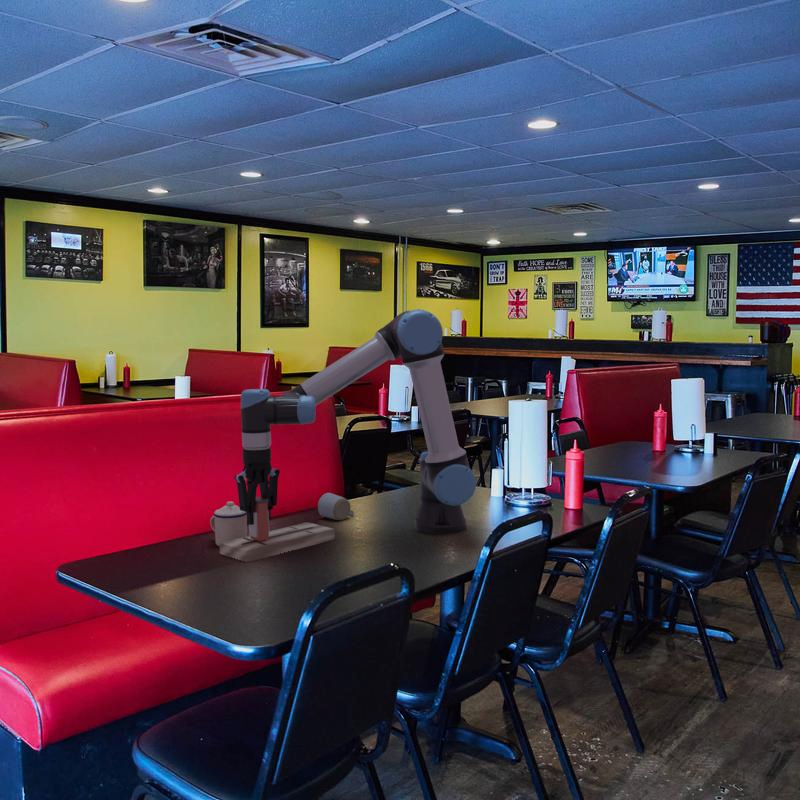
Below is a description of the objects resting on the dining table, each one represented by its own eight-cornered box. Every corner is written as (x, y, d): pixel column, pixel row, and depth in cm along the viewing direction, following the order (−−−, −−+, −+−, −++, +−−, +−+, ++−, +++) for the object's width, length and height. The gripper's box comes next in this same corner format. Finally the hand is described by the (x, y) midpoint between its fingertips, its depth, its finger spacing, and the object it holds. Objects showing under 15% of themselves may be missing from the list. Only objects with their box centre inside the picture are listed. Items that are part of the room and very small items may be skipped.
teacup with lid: (254, 541, 229) (253, 500, 228) (232, 549, 222) (231, 507, 221) (223, 536, 236) (221, 496, 235) (200, 543, 228) (198, 502, 227)
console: (334, 539, 230) (334, 528, 230) (246, 562, 209) (246, 550, 209) (307, 532, 239) (307, 521, 239) (219, 553, 217) (219, 542, 217)
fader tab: (269, 539, 219) (268, 499, 218) (259, 541, 216) (258, 501, 215) (259, 536, 222) (258, 496, 221) (249, 538, 219) (248, 498, 218)
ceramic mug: (334, 523, 250) (334, 498, 249) (317, 518, 256) (317, 494, 255) (360, 517, 257) (360, 493, 257) (342, 513, 263) (342, 489, 263)
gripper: (272, 443, 225) (275, 526, 227) (222, 450, 214) (225, 538, 216) (289, 445, 220) (292, 531, 222) (239, 452, 208) (242, 543, 211)
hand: (259, 534), depth 219 cm, fingers closed on fader tab, 3 cm apart
